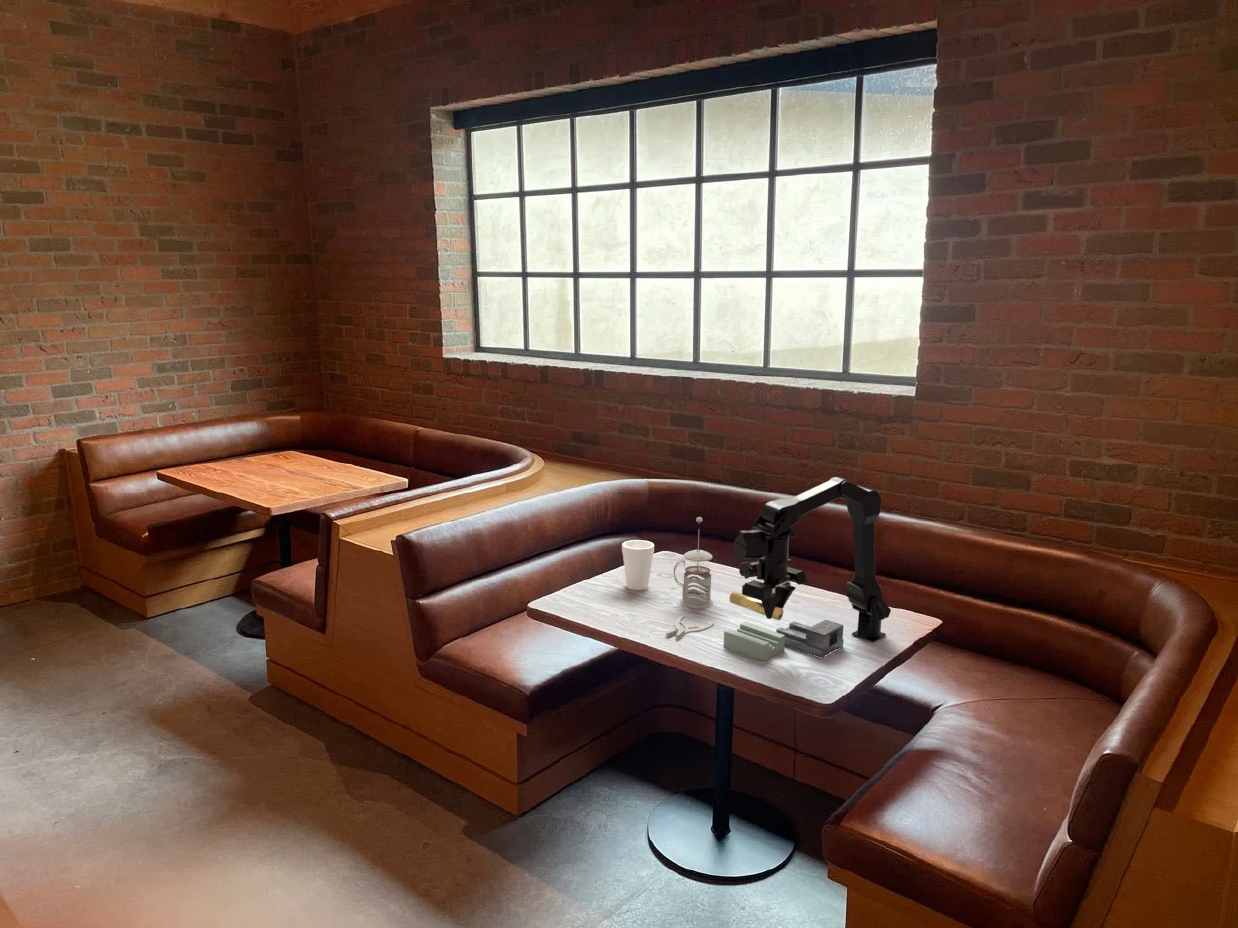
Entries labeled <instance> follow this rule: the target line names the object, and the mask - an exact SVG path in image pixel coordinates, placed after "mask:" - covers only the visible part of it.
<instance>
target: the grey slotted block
mask: <svg viewBox="0 0 1238 928" xmlns="http://www.w3.org/2000/svg"><path fill="white" fill-rule="evenodd" d="M844 628H845V627H844V624H842V623H838V622H835V621H831V620H828V619H825V620H822V621H820V622H818V623H816V624H814V625H812V626H809V625H806V624H803V623H800V622H797V621H795V620H794V621H792V622H789V623H788V627H785V628H784V627H782V626H781V627H779V628H777V629H776V631H775V632H777V633H780V634H783V635H785V645H784V647H788V648H791V649H793V650H796V649H797V650H796V651H799V650H800V652H802V651H803V652H802V653H805V652H806V653H805V654H807V653H809V654H808V655H810V654H812V655H811V656H813V655H815V656H814V657H816V656H818V657H817V658H819V657H821V658H820V659H823V658H825V657H826V656H825V655H827V654H829V653H830V652H832V651H834V650H836V649H838V650H840V649H842V648H844V638H843V637H844ZM841 647H842V648H841ZM839 648H840V649H839ZM836 651H837V650H836ZM834 652H835V651H834ZM829 655H830V654H829ZM824 656H825V657H824ZM827 656H828V655H827ZM822 657H823V658H822Z"/></svg>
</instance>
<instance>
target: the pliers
mask: <svg viewBox="0 0 1238 928" xmlns="http://www.w3.org/2000/svg"><path fill="white" fill-rule="evenodd" d="M685 617H686V616H685V614H682V615H680V616H679V617H677V618H676V619H675V620H674V623H673V625H674V629H673V628H672V629H670V630H668V631H666V634H665V638H670V637H672V636H675V640H676V641H677V640H680V639H681V638H682V637H683V636H684V635H686V634H689V633H696V632H697V633H698V632H702V631H705V630H707V629H710V628H712V627H713V626H714V625H715V622H714V621H712V622H709V623H708V624H705V625H703V626H700V625H699V626H697V625H695V626H688V629H686V625H685V623H684V622H682V620H683V619H684V618H685Z"/></svg>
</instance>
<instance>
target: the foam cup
mask: <svg viewBox="0 0 1238 928" xmlns="http://www.w3.org/2000/svg"><path fill="white" fill-rule="evenodd" d="M621 552H622V556H623V566H624V575H625V582H626V588H628V589H629V590H632V591H633V590H634V591H643V590H647V589H648V588H649V582H650V576H651V569H652V565H653V564H652V563H653V558H654V553H655V544H654V542H651V541H648V540H644V539H643V540H642V539H631V540H626V541H624V542H623V543H621Z"/></svg>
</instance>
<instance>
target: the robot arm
mask: <svg viewBox="0 0 1238 928" xmlns="http://www.w3.org/2000/svg"><path fill="white" fill-rule="evenodd" d="M839 498H841V499H844V500H845V501H846V508H847V513H848V514H849V515H850V518H851V519H852V522H853V539H854V540H853V545H854V546H853V547H854V548H853V551H854V576H853V578H852V579H851V581H847V582H846V584H845V585H846V594H845V595H846V597H847V598H848V601H849V603H851V606H852V607H851V608H852V609H853V610H855V611H857V612H858V620H857V630H855V631H853V632H852V633H851V636H853V635H854V636H853V637H856V638H859V639H862V640H866V641H869V642H871V643H876V642H877V641H879V640H880V639H883V638H885V637H886V636H887V633H885V632H882V631H881V629H882V622H883V620H885V619H886V618H887V619H888V618H889V617H890V615H891V612H892V610H891V609H892V608H890V607H889V606H888V604H886V602H885V601H884V598H883V593H882V592H883V591H882V587H881V585H880V584H879V581H878V579H877V576H876V555H875V548H876V547H875V546H876V545H875V544H876V543H875V522H876V521H877V519H878V518H879V516H880V514H881V507H882V496H881V494H880V493H879V492H878V491H876V490H873V489H871V488H868V487H864V486H861V485H856V484H855V483H852V482H850V481H849V480H848V479H844V478H842V477H839V476H834V477H831V478H830V479H829V480H828V481H826V482H825V481H824V482H823V483H822V484H819V485H817V486H815V487H812V488H810V489H808V490H806V491H804V492H802V493H800V494H798V495H795V496H792V497H788V498H779V499H778V498H777V499H775V500H771V501H768V502H767V503H765V504H764V505H763V508H762V510H761V511H760V514H759V515H758V517H757V518H756V520H755V522H754V523H753V524H752V526H751V529H750V530H739V532H738V535H737V536H736V537H735V540H734V542H733V552H734V555H735V557H736V558H737V559H738V560H739V561H743V562H741V563H740V564H739V569H738V572H739V574H740V576H742V577H744V579H745V580H746V579H749V578H755V577H756V579H757V580H755V579H754V580H751V581H748V582H745V583H743V585H742V586H741V594H742V595H745V596H749V597H752V598H754V599H757V600H760V601H761V602H762V605H763V608H764V611H765V614H766V616H765V618H766V619H768V620H771V619H773V618H772V615H773V612H774V609H775V606H777V607H779V608H782V609H783V610H784V607H785V605H786V603H787V602H788V600H789V599H790V597H791V595H792V594H793V593H794V591H795V590H796V587H795V586H793V585H792V583H791V581H793V580H794V581H795V583H796V585H803V584H806V578H807V576H806V574H805V572H804V571H803V570H800V569H797V568H793V567H790V566H788V565H791V564H792V559H790V558H789V544H790V543H789V542H790V538H794V537H797V536H798V533H797V532H796V531H795V530H793V528H792V527H794V526H795V525H797V523H799V522H800V520H801V519H802V517H803V516H804V515H807V514H808V513H810V512H812V511H814V510H816V509H818V508H820V507H822V506H824V505H826V504H828V503H831V502H833V501H835V500H837V499H839ZM767 525H768V526H767ZM769 526H771V527H772V528H771V527H769ZM754 559H758V560H757V561H753V562H750V561H745V560H754ZM759 580H760V581H759ZM762 580H763V582H762Z"/></svg>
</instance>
